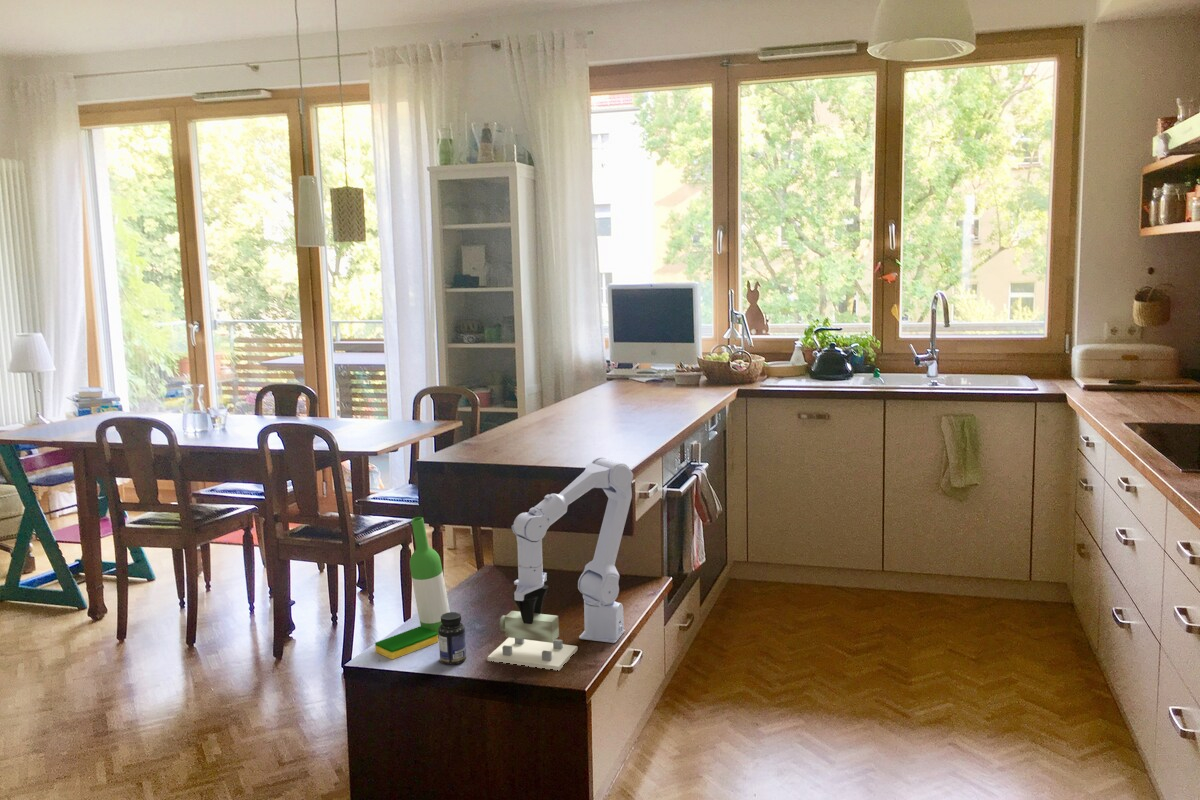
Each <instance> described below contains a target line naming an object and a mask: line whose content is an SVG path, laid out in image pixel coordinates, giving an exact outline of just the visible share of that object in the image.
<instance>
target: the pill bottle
mask: <svg viewBox="0 0 1200 800" xmlns="http://www.w3.org/2000/svg"><path fill="white" fill-rule="evenodd" d="M441 622H442V625H440V627H439V630H438V631H439V634H438V645H439V646H438V648H439V661H440V662H441V663H442V664H443V665H450V666H451V665H458V664H462V663H463V662H465V661H466V659H467V649H466V627H465V625H464V624H463V623H462V614H461V613H459V612H456V611H455V612H454V611H450V612H448V613H445V614H443V615H442V616H441Z"/></svg>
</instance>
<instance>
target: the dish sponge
mask: <svg viewBox="0 0 1200 800" xmlns="http://www.w3.org/2000/svg"><path fill="white" fill-rule="evenodd" d="M436 643H439V634H438V633H437V632H434V631H432V630H430V629H426V628H424V627H422V626H421V625H419V626H417V627H414V628H412V629H409V630H406V631H404V632H401V633H398V634H395V635H393V636H390V637H388V638H385V639H381V640H378V641H376V642H375V643H374V644H375V653H377V654H379V655H382V656H383V657H386V658H388V659H390V660H394V659H397V658H400V657H402V656H405V655H407V654H410V653H412V652H415V651H418V650H421V649H423V648H425V647H428V646H431V645H434V644H436Z"/></svg>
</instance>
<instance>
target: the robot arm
mask: <svg viewBox="0 0 1200 800" xmlns="http://www.w3.org/2000/svg"><path fill="white" fill-rule="evenodd" d="M633 478H634V473H633V472H632V470H631V468H630V467H629V465H627V464H626V463H624V462H623V463H622V462H617V461H613V460H610V459H607V458H606V457H602V456H600V457H597V458H594V459H593V460H592V461H591V462H590V463H588V464H587V465H586V466H585V469H584V471H582V473H581V474H580V475H578V476H577V477H576V478H575V479H574V480H573V481H571V483H569V484H568V485H567V486H566V487H565V488H564V489H563V490H561V491H560V492H559V493H550V494H546V495H545V496H544V497H543V498H544V499H542V500H541V501H540V502H539V503H537V504H536V505H534V507H533V506H532V507H531V508H529V511H528V512H526V511H525V512H521V513H519V514H517V516H516V517H515V518H514V521H513V524H512V525H511V530H512V532H513V534H514V535H515V536H516V543H517V544H516V545H517V546H516V547H517V572H518V576H517V577H518V579H516V580H514V581H513V585H515V586H516V590H515V591H514V593H513V598H512V599H513V600H514V602H515V604H516V606H517V608H518V609H519V612H520V613H521V616H522V620H523V623H525V624H532V623H533V619H534V613H537V614H542V610H543V604H544V600H545V598H546V595H547V592H548V590H549V585H547V584H545V582H547V581H548V580H547V577H548V575H547V574H548V573H547V572H544V570H543V569H544V567H543V539H544V537H545V536H546V534H547V530H548V529H549V528H550V526H552V525H553V524H554V523H555V522H557V521H558V520H559V519H560V518H562V517H563V516H564V515H565V514H566V513H567V512H568V507H569V505H570V504H572V503H573V502H575V501H576V500H578V499H579V498H580V497H582V496H583V495H585V494H586V493H588V492H589V491H591V490H593V489H602V490H603V492H604V493H605V496H607V497H606V498H608V499H607V503H606V507H605V511H604V514H603V519H602V523H601V527H600V530H599V534H598V538H597V543H596V545H595V546H596V547H595V551H594V555H593V558H592V560H591V561H589V562H588V563H586V564H585V565H584V569H583V571H582V573H581V575H580V576H579V578H578V581H577V589H578V591H579V592H580V593H581V594H582V599H583V608H584V609H583V610H584V612H583V613H584V614H583V618H584V619H583V621H584V623H583V624H584V631H583V632H582V633H580V635H579V636H578V639H579V640H587V641H593V642H594V641H595V642H603V643H610V644H614V643H616V642H618V640H619V639H620V638H621V636H622V635H623V634H624V633H625V629H624V627H625V626H624V622H625V621H624V618H625V617H624V613H625V612H624V606H623V603H621V602H618V601H616V600H617V598H618V596H619V593H620V586H619V581H620V574H619V571H618V569H617V567H616V561H617V557H618V553H619V549H620V545H621V541H622V538H623V533H624V530H625V529H624V528H625V525H626V521H627V518H628V514H629V510H630V505H631V502H632V499H633V490H632V484H633Z"/></svg>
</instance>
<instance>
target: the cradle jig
mask: <svg viewBox="0 0 1200 800" xmlns="http://www.w3.org/2000/svg"><path fill="white" fill-rule="evenodd" d="M563 641H564V640H563V639H559V638H557V639H556V640H555V641H554V642H544V641H536V640H527V639H519V638H511V637H507V638H506V639H505V640H504V641H503V642H502V643H501V644H500V645H499V646H498V647H496V649H494V650H493V651H492V652H491V653H490V654H489V655H488V656H487V658H486V659H487V662H491V661H492V662H493V661H494V662H493V663H499V662H503V663H502V664H506V663H510V664H509V665H513V664H517V665H516V666H521V665H525V666H524V667H528V666H529V668H535V667H537V668H538V669H542V668H545V669H544V670H550V669H553V670H552V671H557V670H558V672H559V671H561V669H562V668H563V667H564V666H565V665H566V664H567V662H569V660H570V659H571V658H572V657H573V656H572V655H573V654H574V655H575V653H577V651H578V646H577V645H571V644H565V643H563ZM571 656H572V657H571ZM570 657H571V658H570ZM492 662H491V663H492ZM565 663H566V664H565ZM564 664H565V665H564ZM563 665H564V666H563Z"/></svg>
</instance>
